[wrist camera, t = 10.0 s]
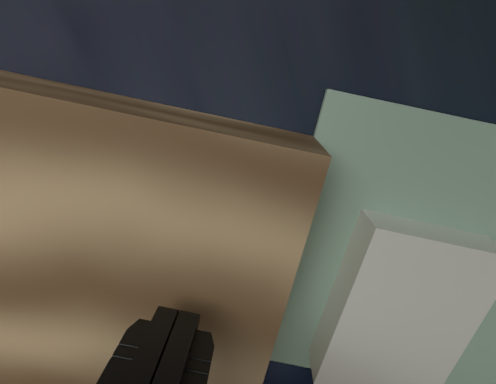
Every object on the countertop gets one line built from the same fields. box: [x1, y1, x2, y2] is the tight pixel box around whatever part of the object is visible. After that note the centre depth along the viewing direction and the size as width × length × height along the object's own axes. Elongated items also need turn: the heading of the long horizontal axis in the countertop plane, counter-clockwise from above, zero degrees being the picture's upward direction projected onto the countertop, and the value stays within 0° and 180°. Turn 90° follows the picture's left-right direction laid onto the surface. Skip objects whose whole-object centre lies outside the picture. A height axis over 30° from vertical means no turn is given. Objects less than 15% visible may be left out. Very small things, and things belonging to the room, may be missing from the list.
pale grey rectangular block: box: [309, 209, 496, 384], centre depth 14 cm, size 9×6×2 cm, turn 168°
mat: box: [270, 89, 496, 384], centre depth 15 cm, size 15×16×1 cm
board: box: [0, 70, 332, 384], centre depth 14 cm, size 14×14×4 cm
